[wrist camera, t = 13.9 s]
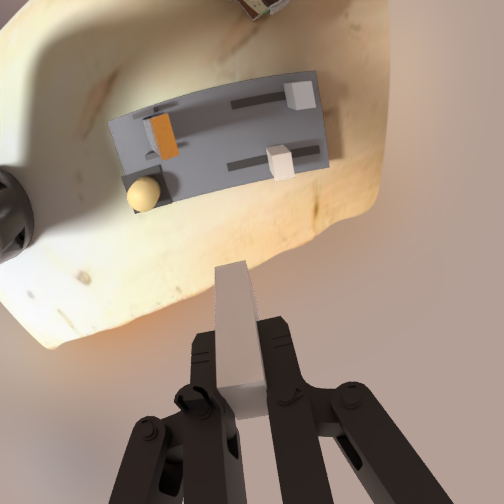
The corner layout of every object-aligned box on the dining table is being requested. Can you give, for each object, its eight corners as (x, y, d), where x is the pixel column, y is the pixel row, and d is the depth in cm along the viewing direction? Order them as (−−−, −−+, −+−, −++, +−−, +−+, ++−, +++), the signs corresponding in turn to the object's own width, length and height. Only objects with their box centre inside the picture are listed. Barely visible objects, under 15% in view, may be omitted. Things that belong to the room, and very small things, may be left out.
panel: (141, 203, 36) (131, 220, 32) (112, 120, 30) (96, 126, 26) (321, 160, 36) (335, 172, 31) (307, 71, 29) (321, 69, 25)
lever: (150, 150, 29) (163, 161, 22) (140, 119, 27) (150, 118, 19) (161, 145, 30) (179, 155, 22) (152, 114, 28) (167, 112, 20)
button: (138, 207, 33) (133, 215, 31) (128, 181, 31) (122, 187, 29) (164, 199, 33) (161, 207, 31) (155, 172, 31) (151, 178, 29)
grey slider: (287, 107, 29) (296, 110, 25) (283, 83, 27) (291, 83, 24) (305, 104, 29) (316, 107, 25) (300, 81, 27) (311, 80, 24)
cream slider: (270, 170, 33) (276, 181, 29) (265, 147, 31) (271, 155, 28) (286, 167, 33) (295, 177, 29) (282, 144, 31) (291, 152, 28)
